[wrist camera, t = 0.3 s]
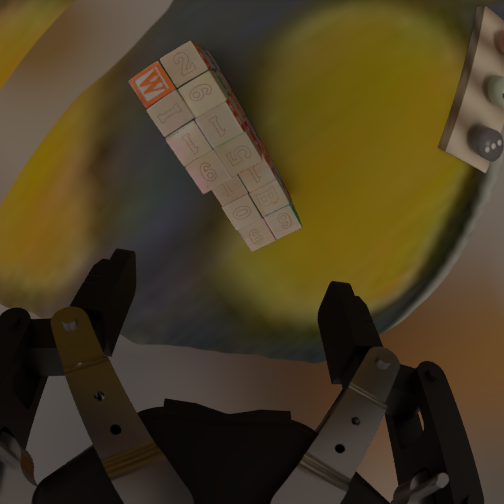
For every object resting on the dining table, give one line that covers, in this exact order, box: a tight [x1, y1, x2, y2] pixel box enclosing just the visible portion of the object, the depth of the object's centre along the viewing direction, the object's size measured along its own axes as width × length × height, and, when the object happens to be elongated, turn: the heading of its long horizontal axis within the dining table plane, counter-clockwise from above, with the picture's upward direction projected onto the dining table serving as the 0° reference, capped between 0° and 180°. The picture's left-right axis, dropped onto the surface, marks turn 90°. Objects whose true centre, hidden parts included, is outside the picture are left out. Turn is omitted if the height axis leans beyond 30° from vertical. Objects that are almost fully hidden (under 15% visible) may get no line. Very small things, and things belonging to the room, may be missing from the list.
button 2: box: [488, 75, 504, 108], centre depth 27 cm, size 4×4×3 cm
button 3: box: [471, 125, 503, 162], centre depth 31 cm, size 4×4×3 cm
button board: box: [438, 6, 504, 173], centre depth 30 cm, size 24×9×2 cm, turn 166°
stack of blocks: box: [129, 41, 302, 252], centre depth 31 cm, size 21×6×12 cm, turn 28°
